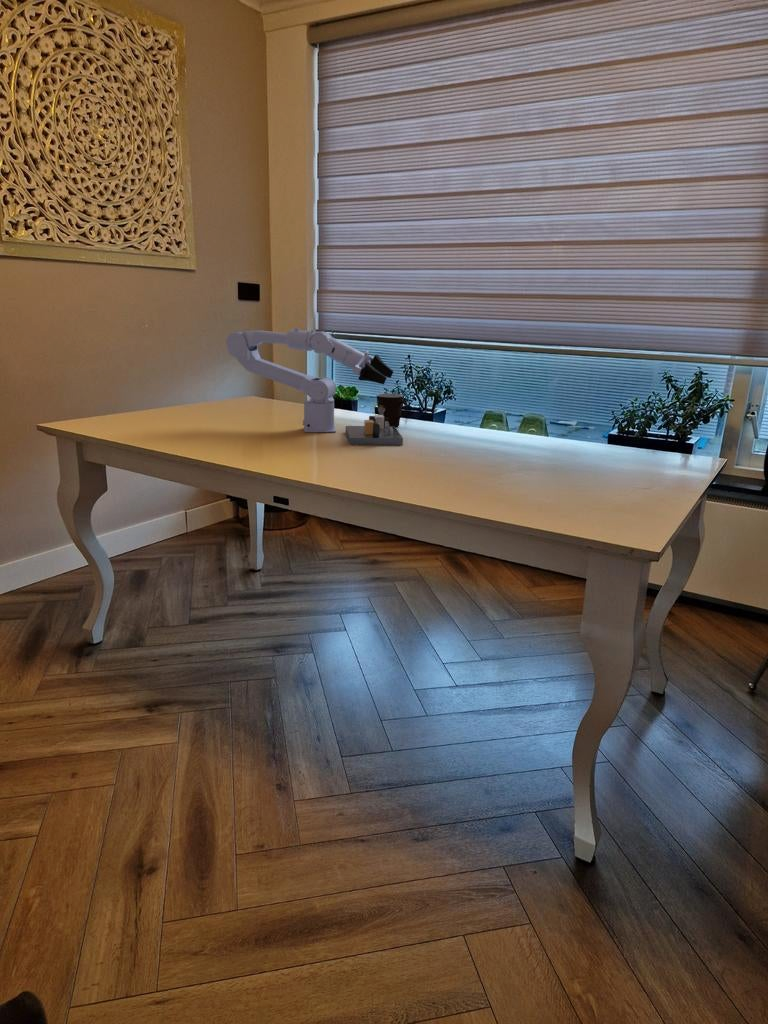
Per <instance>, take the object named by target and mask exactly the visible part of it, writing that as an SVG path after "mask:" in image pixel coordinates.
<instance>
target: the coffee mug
mask: <svg viewBox="0 0 768 1024" xmlns="http://www.w3.org/2000/svg"><path fill="white" fill-rule="evenodd" d="M376 403H377V404H376V405H377V415H383V416H384V426H385V421H388V423H389V426H395V427H398V426H399V427H400V422H401V418H402V417H405V415H406V414H407V412H408V410H409V406H408V404H407V402H405V401H404V394H400V393H386V392H385V393H377V394H376ZM403 404H404V406H405V411H404V412H403V413H402V409H403ZM399 427H398V428H399Z"/></svg>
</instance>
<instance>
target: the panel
mask: <svg viewBox="0 0 768 1024" xmlns="http://www.w3.org/2000/svg"><path fill="white" fill-rule="evenodd" d="M368 420H373V421H374V423H373V435H365V433H364V425H345V436H346V438H347V441H348V443H349V445H350V444H357V445H356V446H403V445H404V438H403V436H402V435H401V433H400V431H399V430H398V429H397V428H395V426H389V423H388V421H385V426H384V429H380V423H376V416H375V415H369V416H368Z"/></svg>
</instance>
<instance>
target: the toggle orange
mask: <svg viewBox="0 0 768 1024" xmlns="http://www.w3.org/2000/svg"><path fill="white" fill-rule="evenodd" d="M373 423H374V421H373V420H369V419H364V424H363V426H364V433H365V435H373Z"/></svg>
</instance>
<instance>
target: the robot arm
mask: <svg viewBox="0 0 768 1024" xmlns="http://www.w3.org/2000/svg"><path fill="white" fill-rule="evenodd" d="M263 343H264V344H277V345H280V344H281V345H286V346H287V347H288V348H289V349H291V350H295V351H298V350H299V351H306V352H307V351H308V352H311V351H313V352H314V353H315V354H323V355H325V356H327V357H329V358H330V359H332V360H333V361H334V362H335V361H336V362H337V363H339V364H341V365H343V366H345V367H346V368H349V369H350V370H352V373H353V374H356V375H357V376H358V380H359V381H369V382H373V383H377V384H381V385H385V383H386V381H387V378H392V376H393V374H394V371H393V369H392V368H391V367H389V366H388V365H387V364H386V363H384V361H383V360H382V358H381V357H380V355H378V354H375V355H374V356H373V355H369V353H370V351H368V350H366V351H365V353H363V352H362V351H360V350H358V349H357V348H354V347H353V346H350V345H348V343H347V344H346V343H345V342H343V341H341V340H338V339H336V338H335V337H333V336H332V335H331V334H330V333H328V332H326V331H324V330H322V331H319V332H316V330H315V329H311V330H301V328H300V327H295V328H294V329H290V330H289V331H288V332H276V331H268V330H244V331H233V332H231V333H229V334H228V335H227V337H226V340H225V344H226V347H227V350H228V352H229V355H230V356H232V357H233V358H235V359H236V360H237V362H238V363H240V365H241V366H242V367H243V368H244V369H245V371H247V372H249V373H252V374H254V375H258V376H260V377H263V378H266V379H269V380H271V381H274V382H277V383H280V384H283V385H285V386H288V387H291V388H293V389H296V390H299V391H301V393H302V394H304V395H307V396H308V397H309V398H310V400H309V401H307V400H305V401H304V402H303V403H304V404H303V420H302V426H304V427H303V429H304V430H303V431H304V433H336V431H337V430H336V426H335V399H334V397H333V396H334V395H335V394H336V391H337V385H336V382H335V381H334V380H333V379H332V378H330V377H327V376H326V377H320V376H319V377H318V376H316V375H315V376H314V375H309V374H305V373H302V372H299V371H297V370H295V369H291V368H288V367H286V366H284V365H280V364H277V363H274V362H272V361H269V360H266V359H263V358H261V356H260V353H259V348H258V347H259V346H260V345H262V344H263Z"/></svg>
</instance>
